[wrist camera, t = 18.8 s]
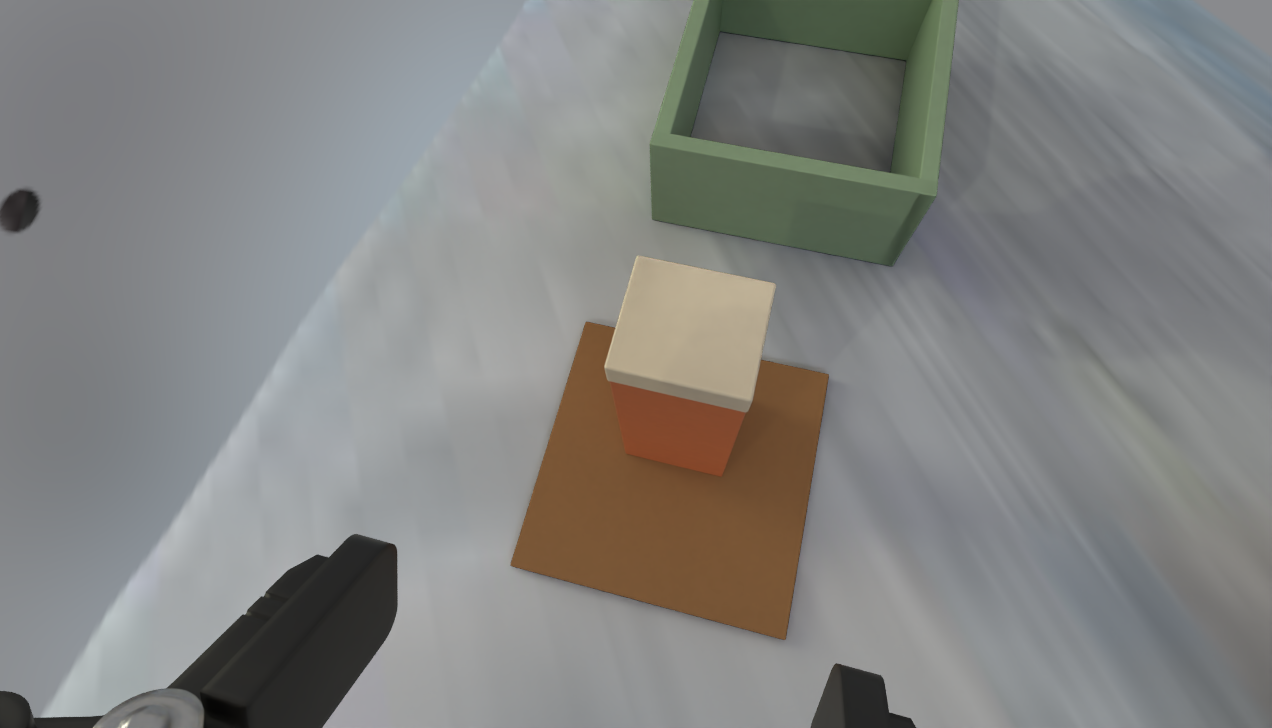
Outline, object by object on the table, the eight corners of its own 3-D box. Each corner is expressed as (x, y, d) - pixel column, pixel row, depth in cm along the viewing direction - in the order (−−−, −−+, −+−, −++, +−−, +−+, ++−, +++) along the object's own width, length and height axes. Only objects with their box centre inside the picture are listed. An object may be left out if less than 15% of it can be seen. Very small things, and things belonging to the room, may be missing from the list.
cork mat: (827, 377, 32) (829, 374, 32) (784, 640, 28) (785, 640, 28) (586, 324, 34) (585, 321, 33) (511, 566, 29) (510, 565, 29)
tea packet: (740, 394, 32) (777, 282, 21) (722, 479, 30) (752, 401, 20) (645, 373, 32) (636, 253, 22) (623, 454, 31) (603, 367, 20)
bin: (921, 52, 39) (964, -43, 34) (892, 266, 34) (936, 196, 29) (709, 20, 41) (716, -77, 35) (651, 219, 36) (649, 144, 30)
